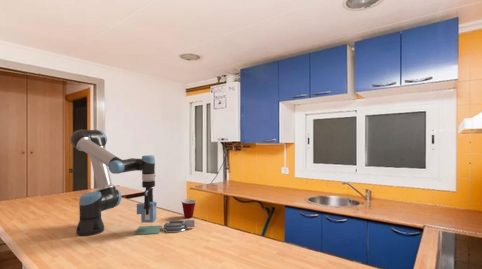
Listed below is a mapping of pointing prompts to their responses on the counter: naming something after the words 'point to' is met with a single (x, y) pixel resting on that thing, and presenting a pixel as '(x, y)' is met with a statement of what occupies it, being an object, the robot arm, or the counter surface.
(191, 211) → the plastic cup
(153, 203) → the blue block
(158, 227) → the plate
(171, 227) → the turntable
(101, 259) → the counter surface
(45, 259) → the counter surface
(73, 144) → the robot arm
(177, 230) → the turntable base
